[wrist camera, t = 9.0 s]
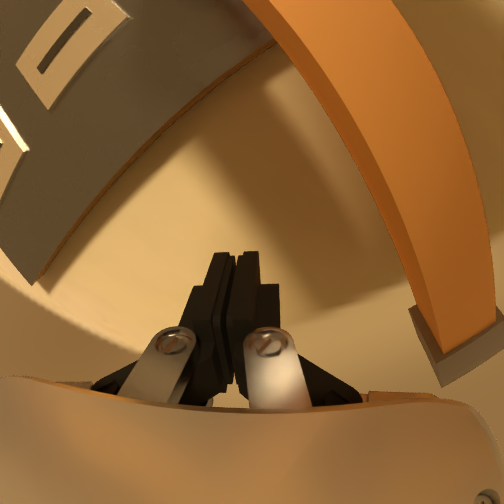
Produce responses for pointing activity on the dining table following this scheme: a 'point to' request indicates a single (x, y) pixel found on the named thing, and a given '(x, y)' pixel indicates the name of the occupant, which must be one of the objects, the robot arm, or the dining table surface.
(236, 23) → the tray
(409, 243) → the grey and orange bar
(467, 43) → the dining table surface
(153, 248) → the dining table surface
